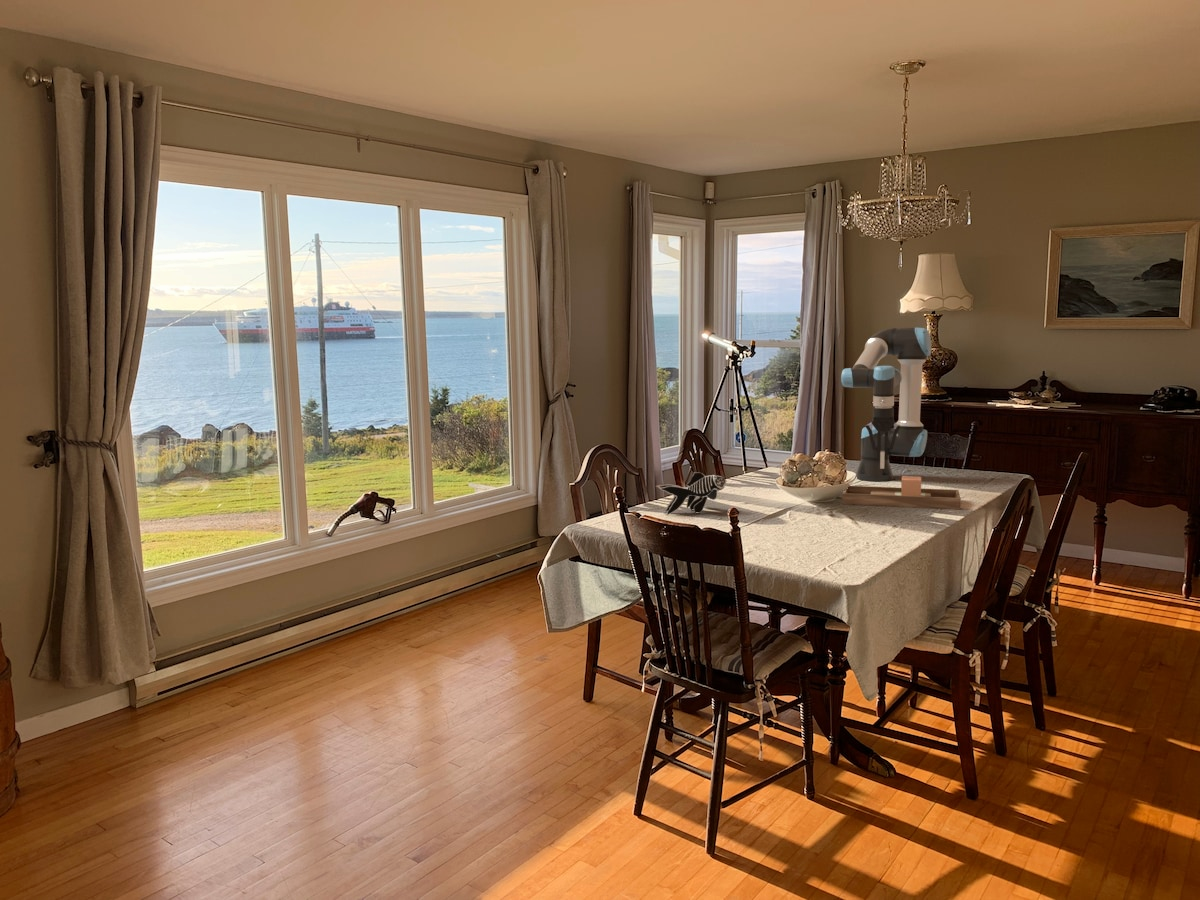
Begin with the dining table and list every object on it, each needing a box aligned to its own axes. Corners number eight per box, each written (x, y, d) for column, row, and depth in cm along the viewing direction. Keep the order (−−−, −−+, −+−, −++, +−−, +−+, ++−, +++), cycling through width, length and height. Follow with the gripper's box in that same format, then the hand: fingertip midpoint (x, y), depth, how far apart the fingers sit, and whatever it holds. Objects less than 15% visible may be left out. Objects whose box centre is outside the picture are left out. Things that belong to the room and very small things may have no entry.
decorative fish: (738, 505, 332) (730, 467, 329) (670, 525, 327) (661, 486, 324) (723, 497, 347) (715, 460, 344) (659, 516, 342) (650, 479, 339)
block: (901, 493, 347) (901, 476, 346) (920, 494, 345) (921, 476, 343) (901, 497, 340) (901, 479, 339) (920, 498, 338) (921, 480, 337)
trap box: (844, 495, 359) (845, 485, 358) (958, 500, 345) (958, 489, 344) (842, 504, 344) (842, 493, 343) (960, 509, 330) (960, 498, 330)
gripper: (865, 408, 339) (864, 469, 344) (901, 408, 335) (900, 470, 339) (865, 405, 346) (864, 465, 350) (901, 405, 342) (900, 466, 346)
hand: (882, 467), depth 345 cm, fingers closed
